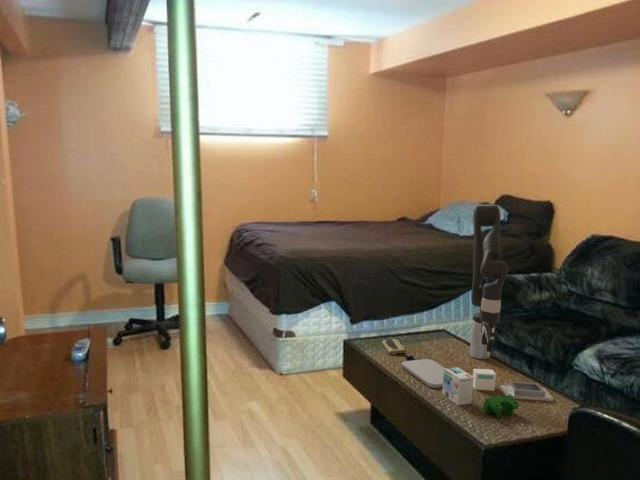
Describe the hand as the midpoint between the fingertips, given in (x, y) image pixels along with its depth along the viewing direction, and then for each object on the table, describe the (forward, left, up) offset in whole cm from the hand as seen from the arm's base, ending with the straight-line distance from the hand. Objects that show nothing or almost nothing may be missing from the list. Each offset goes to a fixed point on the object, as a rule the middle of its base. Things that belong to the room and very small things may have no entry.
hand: (486, 347), depth 224 cm
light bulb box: (+13, -13, -17) cm, 25 cm away
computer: (-40, -34, -18) cm, 55 cm away
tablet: (-10, -20, -18) cm, 28 cm away
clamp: (+24, +1, -17) cm, 29 cm away
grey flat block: (+4, +16, -17) cm, 24 cm away
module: (0, 0, -17) cm, 17 cm away
